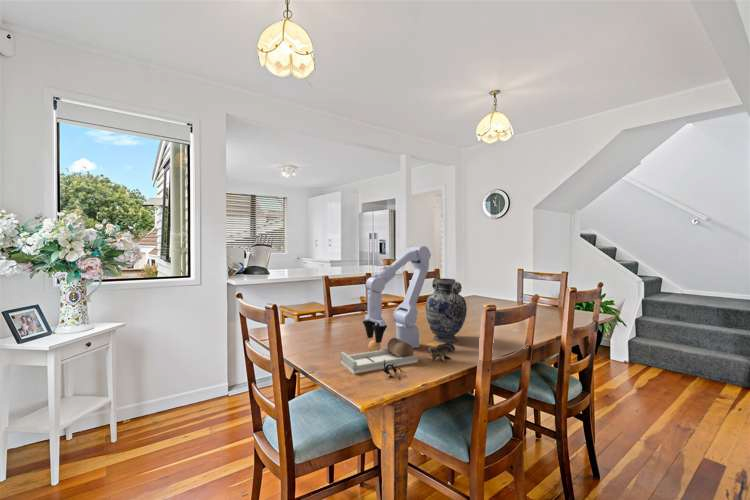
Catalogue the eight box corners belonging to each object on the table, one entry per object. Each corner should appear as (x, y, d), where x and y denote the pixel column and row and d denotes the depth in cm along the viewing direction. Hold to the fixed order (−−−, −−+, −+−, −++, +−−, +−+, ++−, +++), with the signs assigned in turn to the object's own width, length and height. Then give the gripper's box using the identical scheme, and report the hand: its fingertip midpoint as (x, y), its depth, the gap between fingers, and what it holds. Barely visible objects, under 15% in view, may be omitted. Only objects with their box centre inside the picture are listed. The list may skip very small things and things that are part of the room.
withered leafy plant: (442, 362, 129) (459, 354, 134) (433, 344, 132) (449, 336, 137) (432, 368, 135) (448, 359, 140) (422, 350, 137) (439, 342, 142)
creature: (402, 374, 124) (380, 370, 123) (406, 359, 124) (383, 355, 123) (406, 383, 116) (382, 378, 115) (410, 367, 116) (386, 362, 115)
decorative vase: (415, 335, 170) (417, 277, 169) (447, 332, 178) (449, 276, 177) (442, 348, 150) (443, 282, 150) (476, 343, 158) (478, 281, 157)
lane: (400, 353, 144) (401, 343, 143) (417, 362, 133) (417, 351, 133) (341, 363, 132) (341, 352, 132) (353, 373, 121) (353, 362, 121)
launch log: (400, 351, 142) (400, 337, 142) (413, 359, 133) (413, 343, 133) (387, 354, 139) (387, 338, 139) (399, 361, 131) (399, 345, 131)
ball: (377, 349, 148) (377, 337, 148) (382, 352, 144) (382, 340, 144) (366, 351, 146) (366, 339, 146) (371, 354, 141) (371, 342, 141)
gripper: (358, 304, 149) (358, 336, 149) (373, 310, 136) (373, 345, 136) (373, 303, 152) (373, 334, 153) (389, 309, 139) (389, 343, 140)
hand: (374, 340), depth 145 cm, fingers open, 7 cm apart
